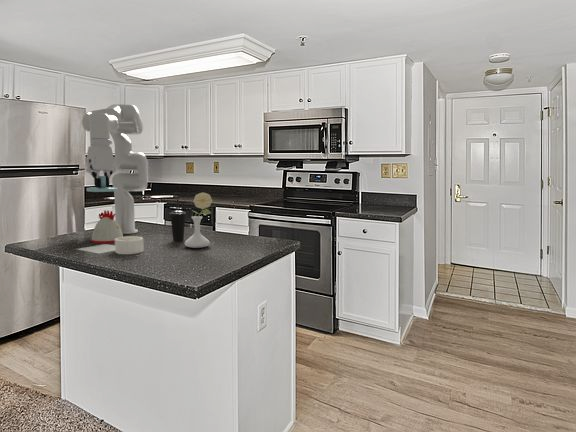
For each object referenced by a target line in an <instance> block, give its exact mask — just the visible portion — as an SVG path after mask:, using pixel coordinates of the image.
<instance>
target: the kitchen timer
mask: <svg viewBox="0 0 576 432" xmlns="http://www.w3.org/2000/svg"><path fill="white" fill-rule="evenodd" d="M98 217H99V219H100V220H98V222H97V223H96V224H95V226H94V228H93V232H92V235H91V243H95V244H113V243H114V244H115V239H116V238H119V237H124V234H122V231H121V228H120V226H119V225H118V223H117V222H116V221H115V219H114V218H115V213H113V210H111V211H110V210H106V209H105V210H104V211H103V212H101V213H100V214H98Z"/></svg>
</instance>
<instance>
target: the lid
mask: <svg viewBox="0 0 576 432" xmlns="http://www.w3.org/2000/svg"><path fill="white" fill-rule="evenodd" d="M99 178H100V179H101V188H95V186H94V187H92V186H91V187H86V192H90V193H91V192H92V193H99V192H100V193H106V192H108V193H109V192H110V193H111V192H114V191H118V190H117V188H116V187H113V186H112V187H111V186H109V187H106V176H104V175H99Z"/></svg>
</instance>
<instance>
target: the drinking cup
mask: <svg viewBox="0 0 576 432" xmlns="http://www.w3.org/2000/svg"><path fill="white" fill-rule="evenodd" d="M179 207H180V206H179V199H176V210H172V211H171V212H169V215H170V221H171V222H170V223H171V232H172V233H171V234H172V241H173V242H183V241H184V237H185V226H186V214H187V212H185V211H183V210H180V209H179Z"/></svg>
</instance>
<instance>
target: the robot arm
mask: <svg viewBox="0 0 576 432" xmlns="http://www.w3.org/2000/svg"><path fill="white" fill-rule="evenodd" d="M142 120H143V119H142V116H141V114H140V112H139V109H138V108H137V106H135V105H133V104H120V103H117V104H116V103H115V104H110V106H108V107H106V108H101V109H95V110H90V111H88V112H86V113H84V115H83V116H82V118H81V125H82V127H83V130H85V132H89V137H90V138H89V139H90V140H89V141H90V142H89V143H90V146H88V147H87V148H88V149H87V152H86V153H87V154H86V170H85V172H86V173H88V174H90V175H91V176H92V178H93V182H94V187H95V188H101V179H100V178H99V176H100V174H101V173H100V171H103V176H106V187H110V178H111V184H112V187H116V188H117V190H118V191H113V196H114V214H115V216H114V218H115V219H114V220H115V221H116V222H117V223H118V225H119V226H120V228H121V231H122V234H123V235H130V234H136V233H138V232H139V230H138V229H137V228H135V227H136V223H135V222H136V221H135V218H136V217H135V200H134V197H133V195H132V194H131V193H130V192H144V191H146V190H147V188H148V158H147V155H146V154H144V153H143V152H137V151H136V152H135V151H133V145H132V144H133V142H132V141H131V139H130V138H129V137H128V136H127V135H141V134H142V133H143V131H144V124H143V121H142ZM110 137H111V139H112V140H113V141H111V139H110ZM113 143H114V152H113V149H112V146H111V145H112V144H113ZM113 153H114V154H113ZM116 169H117V170H120V171H136V172H117V170H116ZM115 172H117V173H115ZM112 175H113V176H112ZM111 176H112V177H111Z"/></svg>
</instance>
